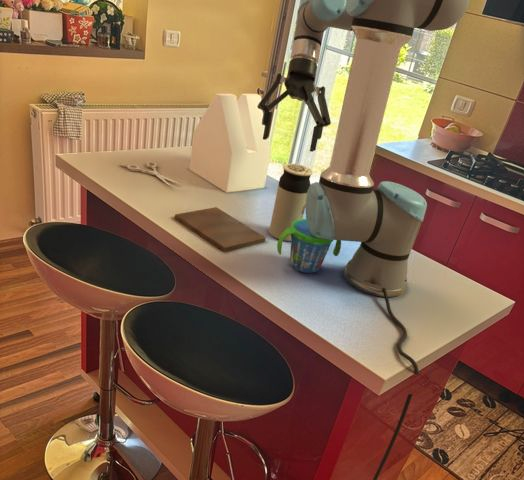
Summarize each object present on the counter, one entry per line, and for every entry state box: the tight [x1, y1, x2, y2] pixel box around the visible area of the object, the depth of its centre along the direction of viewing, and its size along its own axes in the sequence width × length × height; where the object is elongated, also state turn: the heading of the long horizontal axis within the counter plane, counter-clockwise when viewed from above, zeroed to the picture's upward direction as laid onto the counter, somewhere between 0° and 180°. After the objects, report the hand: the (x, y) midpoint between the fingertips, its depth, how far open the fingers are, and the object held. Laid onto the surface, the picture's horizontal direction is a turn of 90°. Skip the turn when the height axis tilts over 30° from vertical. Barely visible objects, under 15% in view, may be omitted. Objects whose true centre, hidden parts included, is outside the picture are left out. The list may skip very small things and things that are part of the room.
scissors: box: [120, 161, 180, 187], centre depth 163 cm, size 11×1×20 cm
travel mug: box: [268, 163, 313, 242], centre depth 141 cm, size 8×8×18 cm
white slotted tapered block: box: [189, 93, 272, 193], centre depth 166 cm, size 19×15×25 cm
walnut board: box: [174, 206, 266, 253], centre depth 141 cm, size 20×14×1 cm
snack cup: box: [276, 218, 342, 274], centre depth 130 cm, size 16×10×10 cm
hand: (289, 144), depth 147 cm, fingers open, 13 cm apart
